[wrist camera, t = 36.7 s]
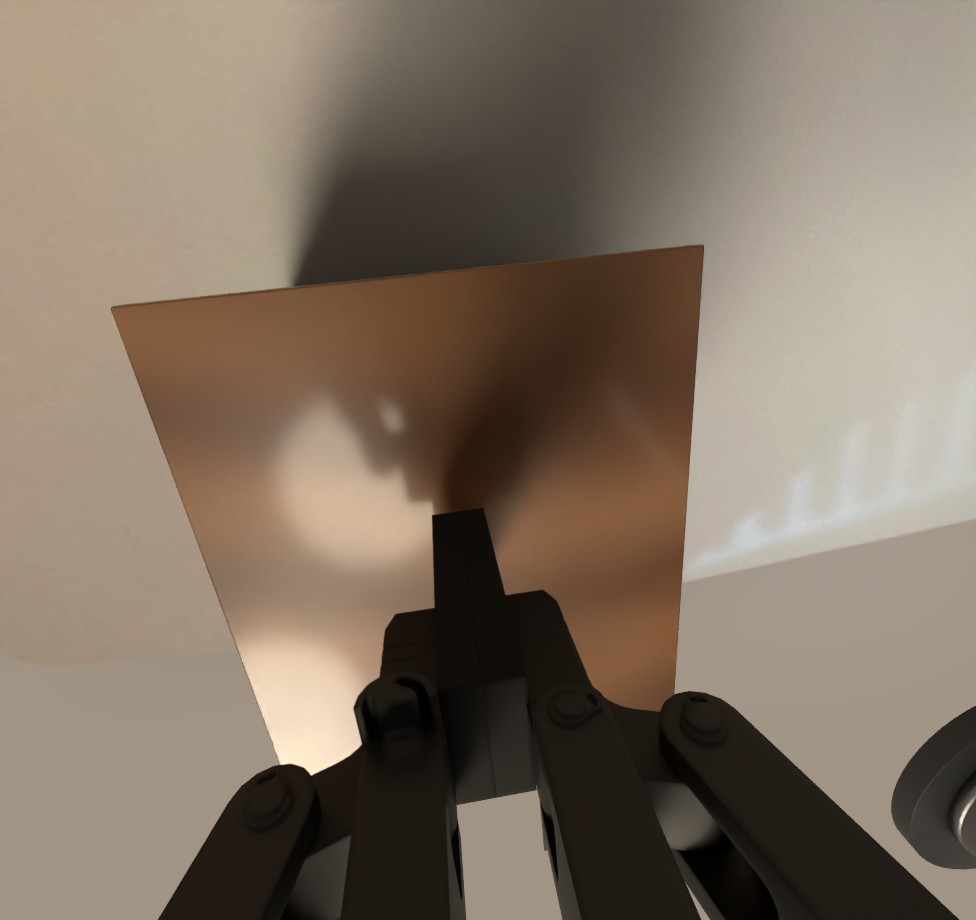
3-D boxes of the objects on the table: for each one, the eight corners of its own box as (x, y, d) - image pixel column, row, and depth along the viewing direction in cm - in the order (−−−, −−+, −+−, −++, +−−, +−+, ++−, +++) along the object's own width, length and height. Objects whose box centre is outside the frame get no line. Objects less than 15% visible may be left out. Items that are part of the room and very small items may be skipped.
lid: (127, 304, 13) (108, 306, 12) (689, 245, 14) (705, 244, 13) (305, 801, 20) (301, 822, 19) (661, 735, 21) (670, 752, 20)
